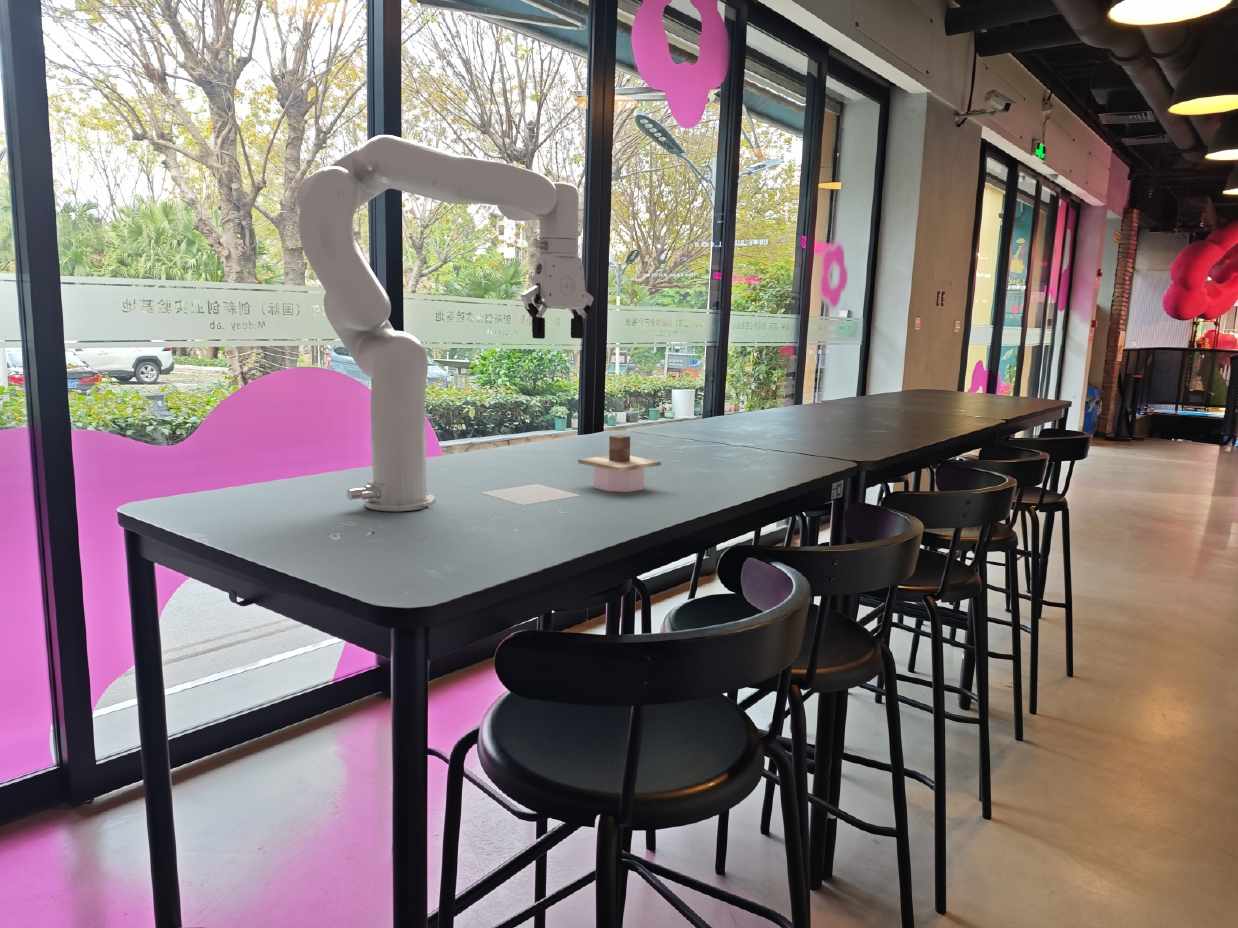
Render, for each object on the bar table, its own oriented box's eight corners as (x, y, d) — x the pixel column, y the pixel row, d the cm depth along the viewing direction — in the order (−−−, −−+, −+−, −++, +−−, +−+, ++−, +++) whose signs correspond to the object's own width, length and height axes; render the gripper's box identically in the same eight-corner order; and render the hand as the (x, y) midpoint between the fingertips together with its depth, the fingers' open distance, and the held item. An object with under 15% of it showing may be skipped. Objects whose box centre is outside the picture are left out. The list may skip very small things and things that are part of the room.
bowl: (617, 495, 165) (618, 470, 164) (584, 487, 172) (585, 463, 171) (653, 489, 172) (654, 465, 171) (620, 481, 179) (621, 458, 178)
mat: (522, 507, 153) (522, 505, 153) (479, 494, 163) (479, 492, 163) (580, 497, 163) (581, 495, 163) (537, 485, 173) (537, 483, 173)
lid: (617, 471, 163) (618, 442, 162) (578, 463, 171) (578, 435, 170) (660, 465, 171) (661, 437, 170) (621, 457, 179) (621, 430, 178)
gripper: (534, 245, 154) (534, 339, 157) (604, 252, 166) (603, 339, 169) (511, 247, 160) (511, 337, 163) (580, 253, 171) (579, 337, 174)
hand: (558, 338), depth 166 cm, fingers open, 9 cm apart
